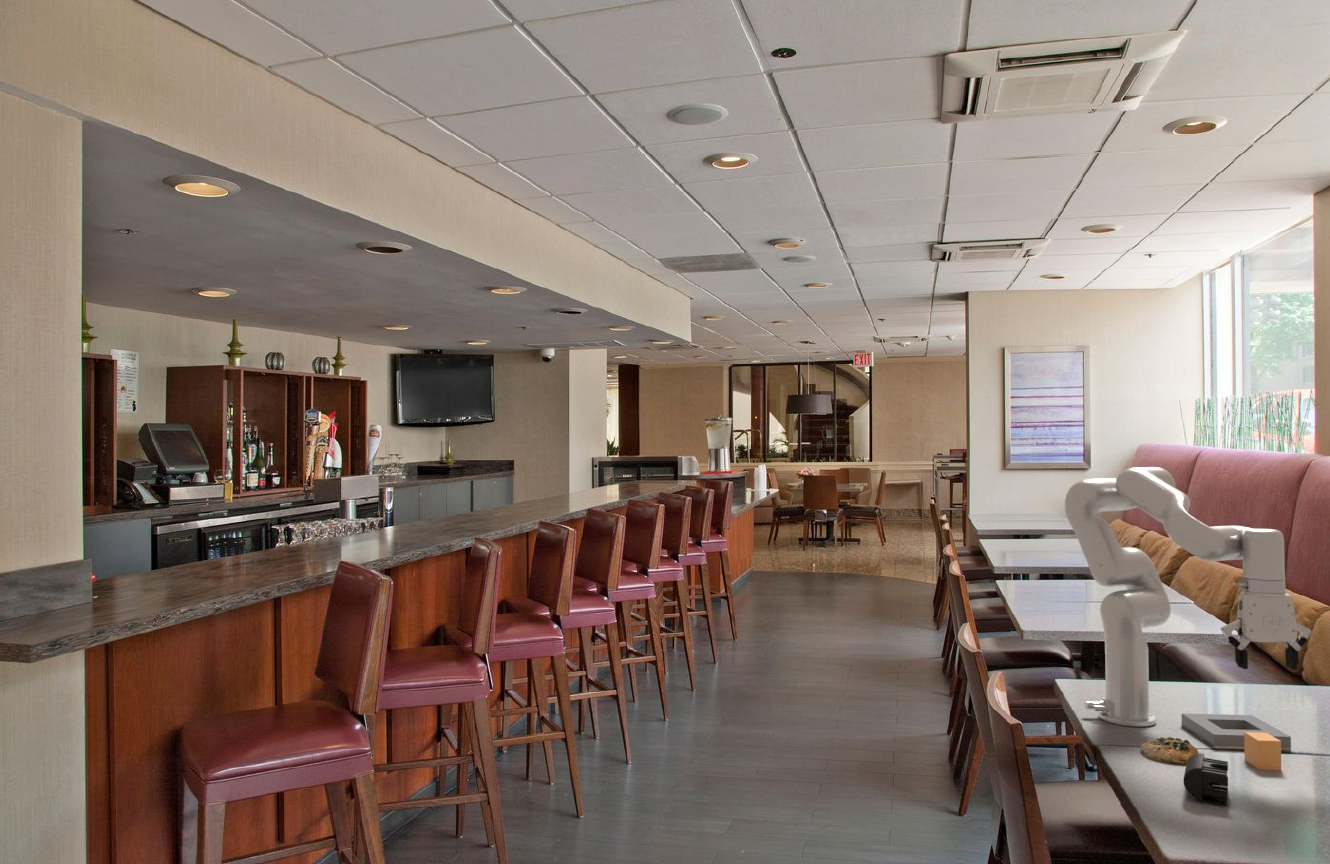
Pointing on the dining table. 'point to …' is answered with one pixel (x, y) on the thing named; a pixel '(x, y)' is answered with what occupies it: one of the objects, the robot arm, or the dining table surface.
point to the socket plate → (1230, 729)
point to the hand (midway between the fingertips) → (1266, 668)
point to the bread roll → (1169, 750)
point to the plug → (1262, 750)
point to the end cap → (1207, 780)
